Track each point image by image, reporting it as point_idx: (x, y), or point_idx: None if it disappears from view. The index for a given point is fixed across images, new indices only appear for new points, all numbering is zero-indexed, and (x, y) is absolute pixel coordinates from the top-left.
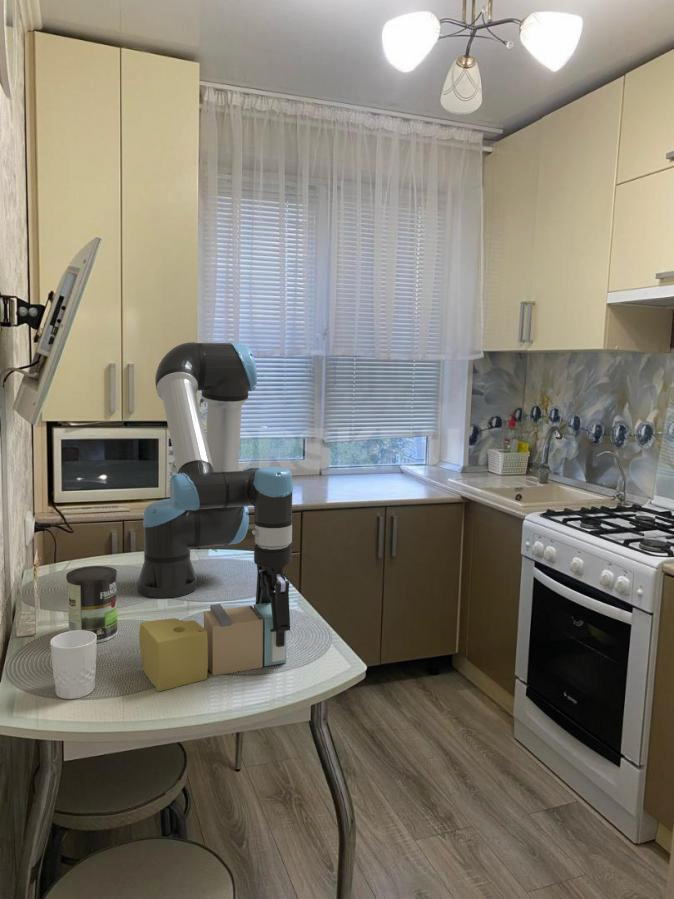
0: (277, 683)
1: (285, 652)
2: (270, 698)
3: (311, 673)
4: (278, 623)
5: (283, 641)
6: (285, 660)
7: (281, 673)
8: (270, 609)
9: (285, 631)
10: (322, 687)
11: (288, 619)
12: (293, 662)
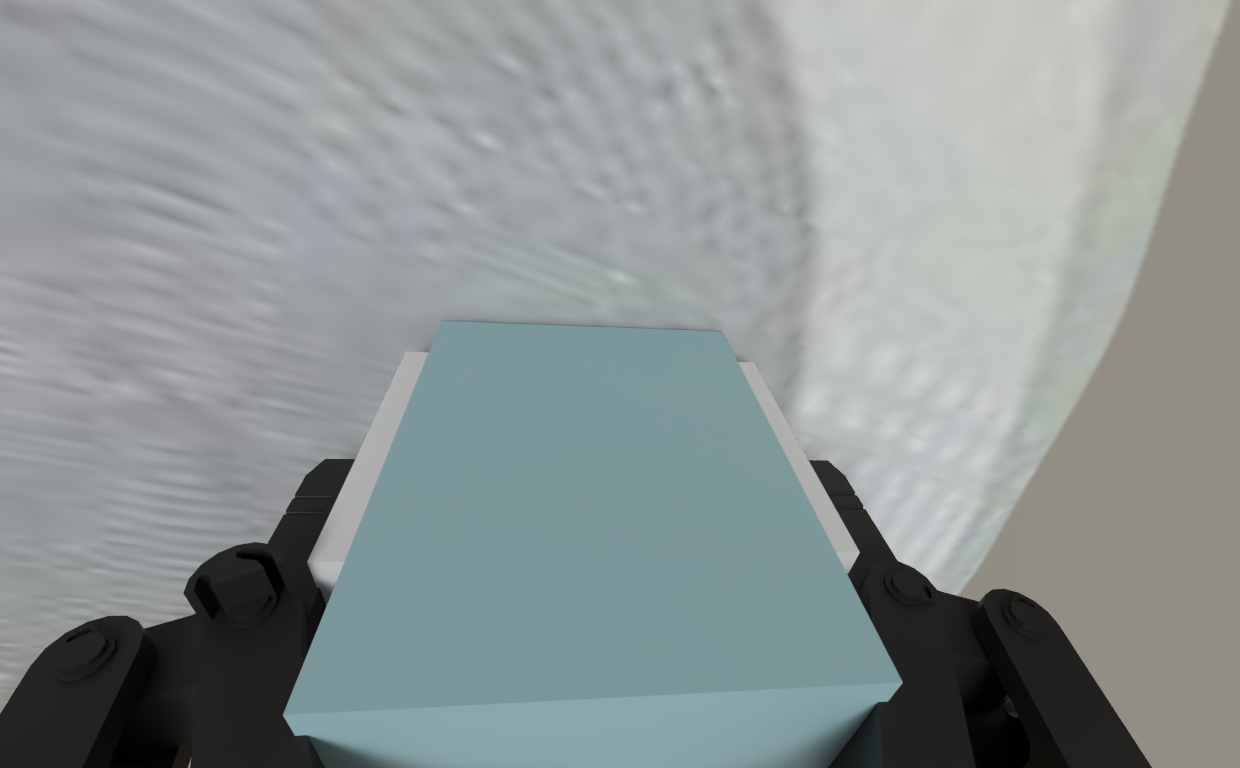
0: (889, 437)
1: (742, 377)
2: (974, 494)
3: (942, 228)
4: (1021, 759)
5: (852, 500)
6: (724, 342)
7: (812, 389)
8: (595, 765)
9: (847, 532)
10: (1128, 243)
11: (1116, 740)
12: (729, 276)
